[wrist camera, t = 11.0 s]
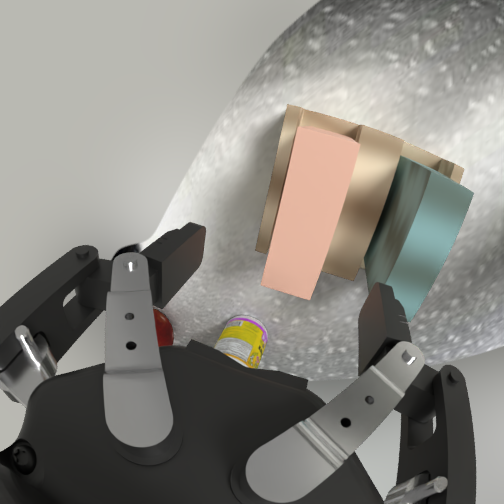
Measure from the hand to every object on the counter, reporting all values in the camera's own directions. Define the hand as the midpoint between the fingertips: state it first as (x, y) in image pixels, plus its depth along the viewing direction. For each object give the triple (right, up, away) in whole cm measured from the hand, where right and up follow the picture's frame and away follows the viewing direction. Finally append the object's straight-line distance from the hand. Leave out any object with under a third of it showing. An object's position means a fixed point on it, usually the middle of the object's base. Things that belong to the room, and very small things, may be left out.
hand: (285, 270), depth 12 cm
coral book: (+5, +8, +15) cm, 18 cm away
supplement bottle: (-2, -11, +29) cm, 31 cm away
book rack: (+10, +7, +16) cm, 20 cm away
